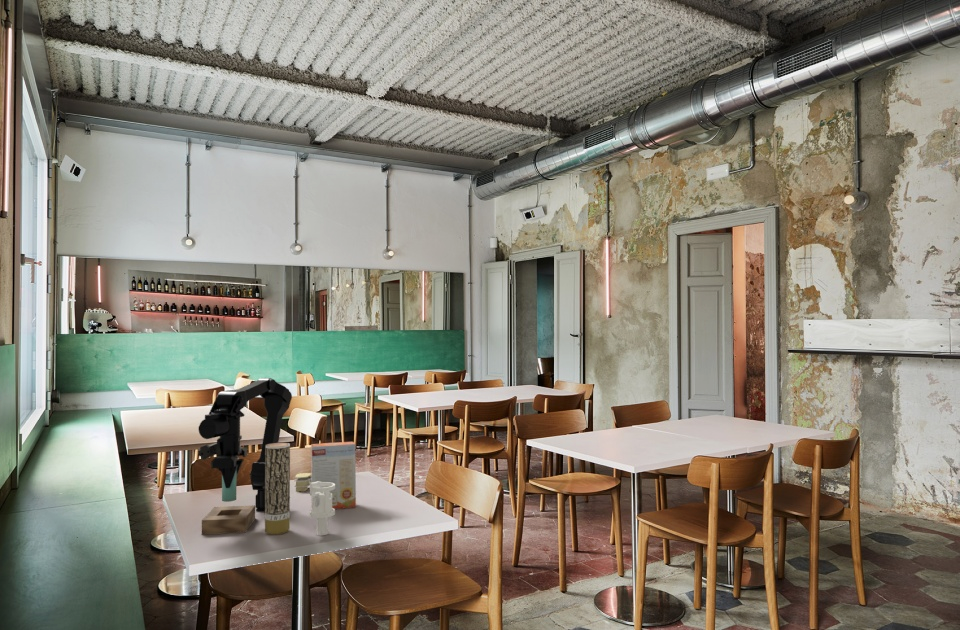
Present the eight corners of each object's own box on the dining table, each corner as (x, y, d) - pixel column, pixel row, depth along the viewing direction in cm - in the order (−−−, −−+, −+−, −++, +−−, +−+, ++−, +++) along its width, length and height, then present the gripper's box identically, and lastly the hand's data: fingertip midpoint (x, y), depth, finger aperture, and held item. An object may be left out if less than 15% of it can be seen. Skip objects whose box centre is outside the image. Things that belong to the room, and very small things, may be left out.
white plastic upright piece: (305, 533, 185) (305, 480, 185) (328, 528, 189) (328, 477, 189) (315, 539, 179) (315, 485, 179) (339, 534, 183) (339, 481, 184)
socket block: (255, 518, 200) (255, 505, 200) (245, 532, 186) (245, 518, 186) (214, 520, 198) (214, 507, 198) (201, 534, 184) (201, 520, 184)
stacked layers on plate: (311, 493, 231) (311, 478, 232) (287, 493, 232) (287, 478, 232) (319, 486, 241) (319, 472, 241) (296, 486, 242) (296, 471, 242)
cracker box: (353, 503, 217) (353, 440, 217) (356, 507, 211) (356, 443, 212) (310, 506, 213) (310, 443, 213) (311, 511, 207) (312, 446, 207)
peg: (237, 497, 194) (237, 464, 194) (234, 501, 190) (234, 467, 191) (223, 498, 194) (224, 464, 194) (220, 501, 190) (220, 467, 190)
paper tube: (260, 531, 186) (261, 444, 187) (282, 526, 191) (282, 441, 191) (271, 537, 181) (272, 447, 182) (293, 531, 186) (294, 444, 187)
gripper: (209, 429, 201) (209, 480, 200) (192, 439, 182) (191, 495, 182) (247, 428, 202) (247, 478, 202) (233, 438, 184) (233, 493, 183)
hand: (229, 486), depth 192 cm, fingers closed on peg, 4 cm apart
